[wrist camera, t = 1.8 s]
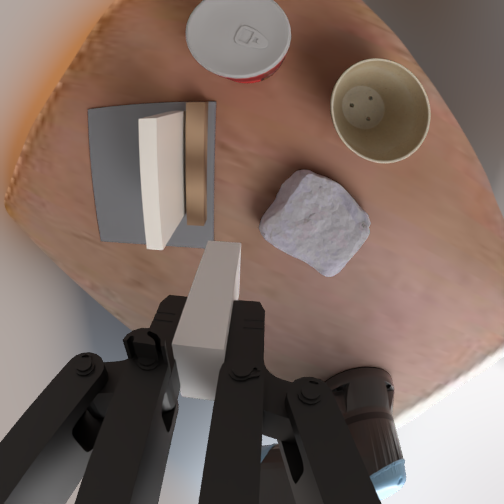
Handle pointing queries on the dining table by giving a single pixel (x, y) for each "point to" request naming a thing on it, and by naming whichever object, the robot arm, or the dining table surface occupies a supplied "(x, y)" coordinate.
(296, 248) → the stone block
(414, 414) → the dining table surface
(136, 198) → the mat
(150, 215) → the tile
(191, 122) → the strip
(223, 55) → the canned food
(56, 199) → the dining table surface
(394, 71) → the flower pot
